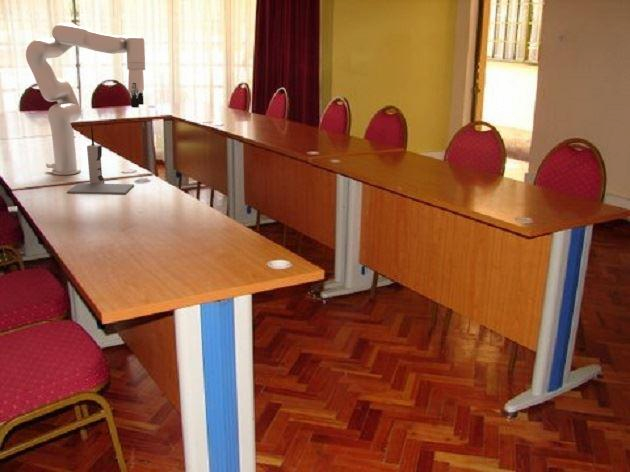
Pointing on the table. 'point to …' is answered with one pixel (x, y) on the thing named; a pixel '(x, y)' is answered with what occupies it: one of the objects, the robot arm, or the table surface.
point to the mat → (101, 188)
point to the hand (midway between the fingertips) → (137, 105)
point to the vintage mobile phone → (95, 162)
